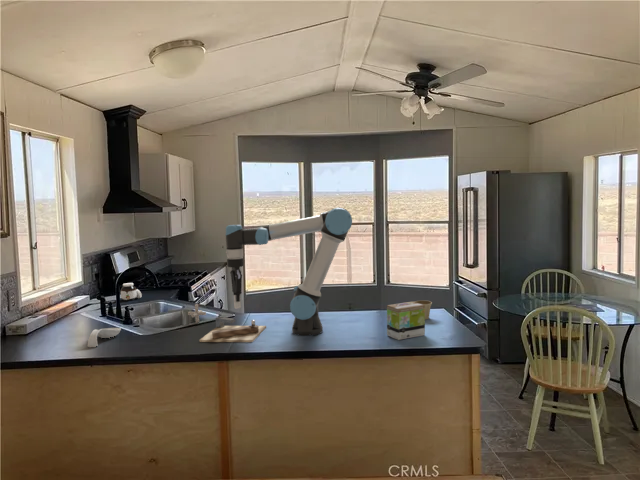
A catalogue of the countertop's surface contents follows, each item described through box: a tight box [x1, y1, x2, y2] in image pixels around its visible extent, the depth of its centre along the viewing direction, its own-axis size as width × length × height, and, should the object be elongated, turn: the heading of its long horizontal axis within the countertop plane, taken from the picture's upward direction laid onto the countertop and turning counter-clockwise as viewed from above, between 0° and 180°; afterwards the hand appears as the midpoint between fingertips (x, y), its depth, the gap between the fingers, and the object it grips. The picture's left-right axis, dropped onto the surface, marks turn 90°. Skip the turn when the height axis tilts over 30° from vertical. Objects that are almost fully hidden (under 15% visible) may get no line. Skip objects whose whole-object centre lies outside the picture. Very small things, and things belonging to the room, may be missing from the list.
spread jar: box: [120, 282, 143, 302], centre depth 336 cm, size 12×11×12 cm
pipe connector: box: [187, 304, 207, 324], centre depth 262 cm, size 10×10×10 cm
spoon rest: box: [87, 327, 122, 348], centre depth 234 cm, size 24×12×7 cm, turn 1°
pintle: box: [251, 319, 256, 326], centre depth 233 cm, size 2×2×3 cm
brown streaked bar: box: [212, 324, 259, 339], centre depth 230 cm, size 22×5×3 cm, turn 114°
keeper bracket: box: [215, 316, 236, 328], centre depth 245 cm, size 11×3×5 cm, turn 56°
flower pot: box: [414, 300, 433, 320], centre depth 252 cm, size 9×9×9 cm
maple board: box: [199, 325, 267, 343], centre depth 235 cm, size 26×25×1 cm
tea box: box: [386, 301, 426, 341], centre depth 221 cm, size 15×10×15 cm
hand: (237, 308), depth 222 cm, fingers closed
